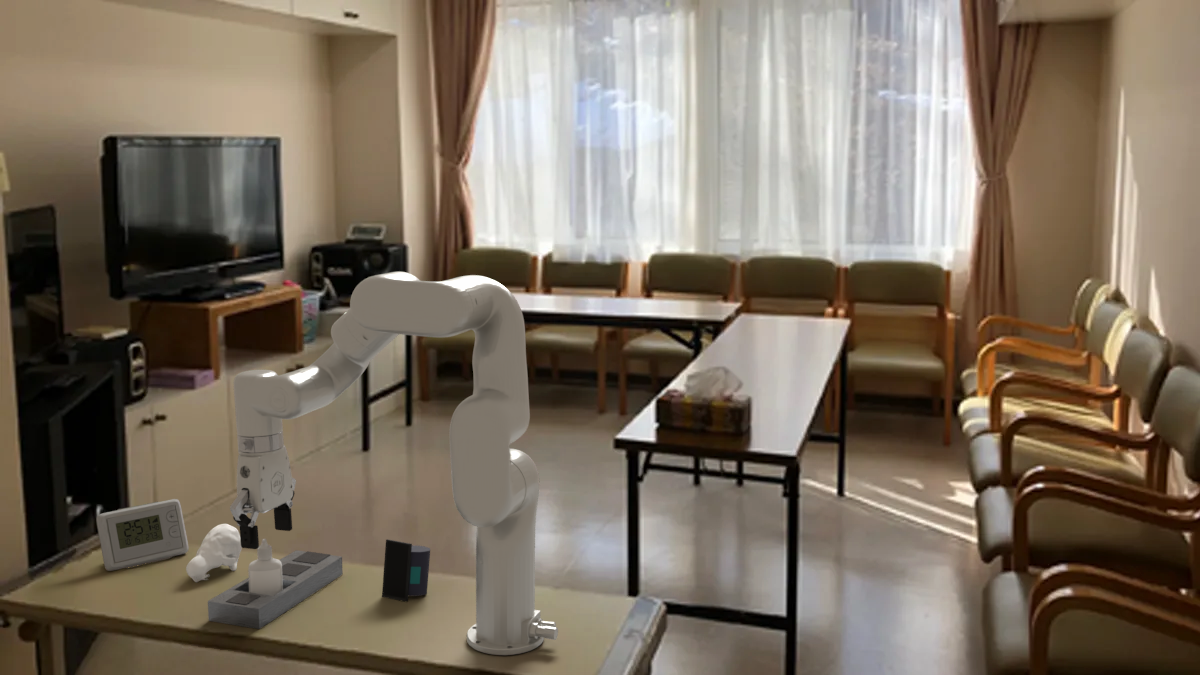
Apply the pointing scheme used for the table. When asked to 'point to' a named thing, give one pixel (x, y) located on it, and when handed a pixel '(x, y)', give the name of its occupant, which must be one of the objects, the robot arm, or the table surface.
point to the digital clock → (142, 534)
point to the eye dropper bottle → (265, 572)
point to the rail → (299, 582)
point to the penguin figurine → (216, 552)
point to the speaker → (405, 570)
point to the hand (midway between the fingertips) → (267, 538)
